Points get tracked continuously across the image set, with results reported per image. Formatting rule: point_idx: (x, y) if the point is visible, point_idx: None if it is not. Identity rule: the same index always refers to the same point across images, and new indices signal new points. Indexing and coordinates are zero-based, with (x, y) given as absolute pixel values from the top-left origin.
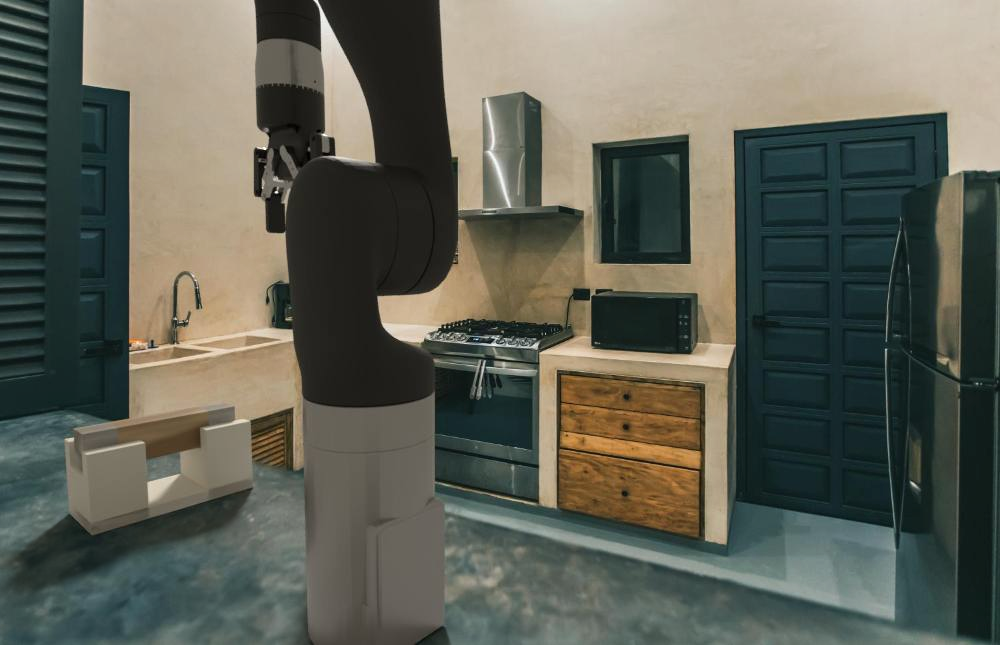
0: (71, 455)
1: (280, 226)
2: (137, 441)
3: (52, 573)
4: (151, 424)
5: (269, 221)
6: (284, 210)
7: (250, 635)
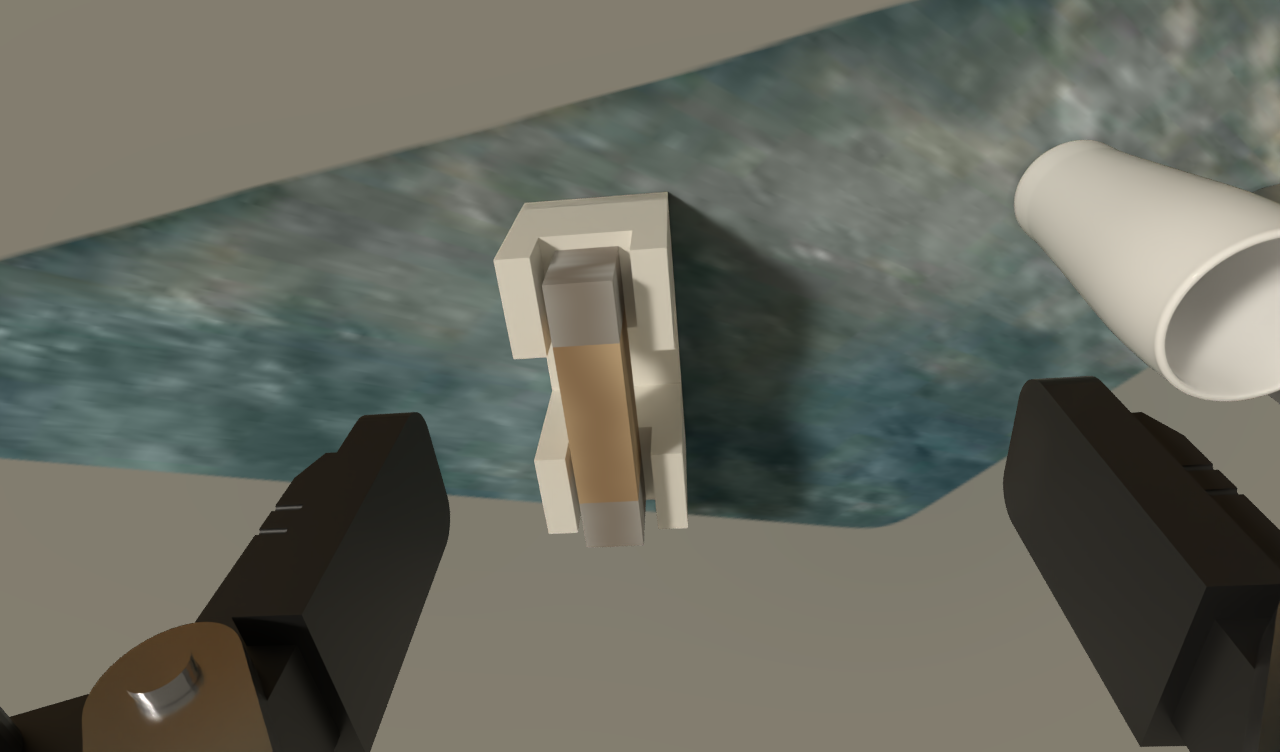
0: (580, 512)
1: (414, 475)
2: (660, 459)
3: (772, 488)
4: (632, 446)
5: (426, 583)
6: (337, 551)
7: (1126, 379)
